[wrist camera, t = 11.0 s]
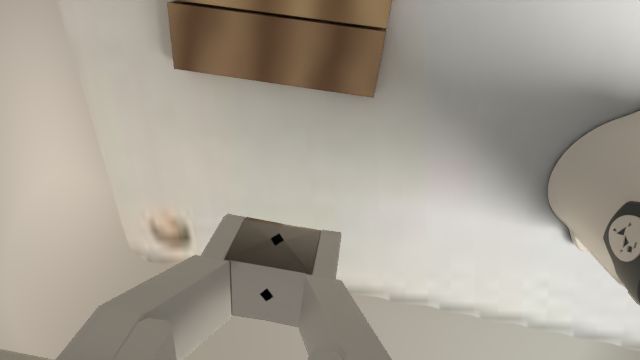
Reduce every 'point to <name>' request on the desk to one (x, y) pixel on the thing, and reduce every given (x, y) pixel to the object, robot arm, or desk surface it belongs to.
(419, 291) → the desk surface
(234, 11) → the laid board
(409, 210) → the desk surface
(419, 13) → the desk surface
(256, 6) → the plank
